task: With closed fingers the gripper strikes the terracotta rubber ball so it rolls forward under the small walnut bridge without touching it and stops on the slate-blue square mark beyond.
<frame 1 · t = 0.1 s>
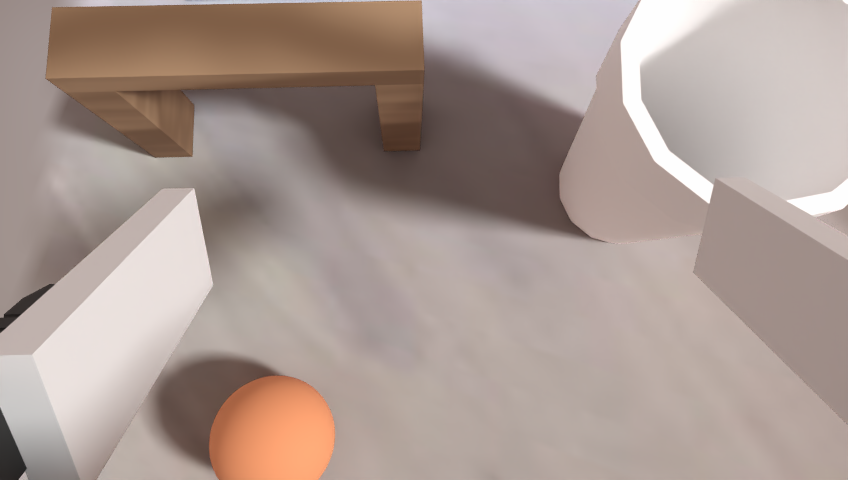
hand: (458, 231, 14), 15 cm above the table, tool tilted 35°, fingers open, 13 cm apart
foam cup: (613, 188, 31), on the table
bridge: (288, 128, 30), on the table
ball: (273, 437, 25), on the table
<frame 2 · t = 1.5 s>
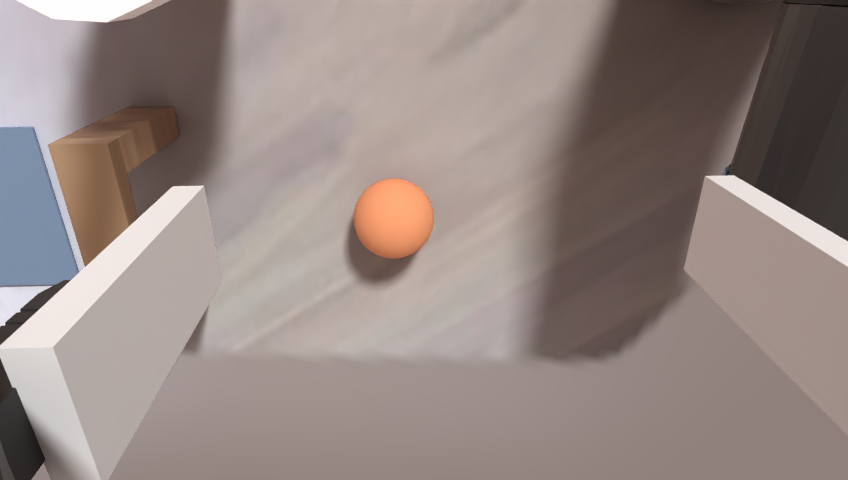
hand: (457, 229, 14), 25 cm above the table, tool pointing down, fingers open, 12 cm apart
bridge: (172, 207, 40), on the table
ball: (393, 218, 38), on the table
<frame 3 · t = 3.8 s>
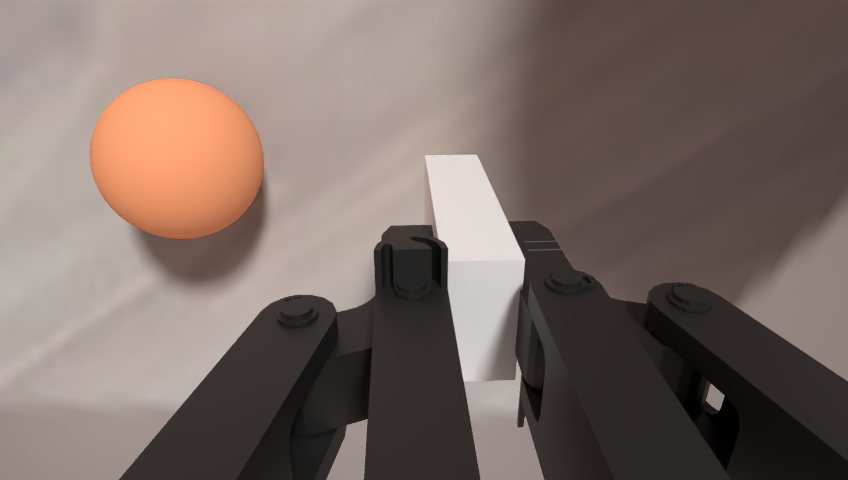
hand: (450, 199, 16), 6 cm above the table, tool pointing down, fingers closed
ball: (181, 160, 19), on the table
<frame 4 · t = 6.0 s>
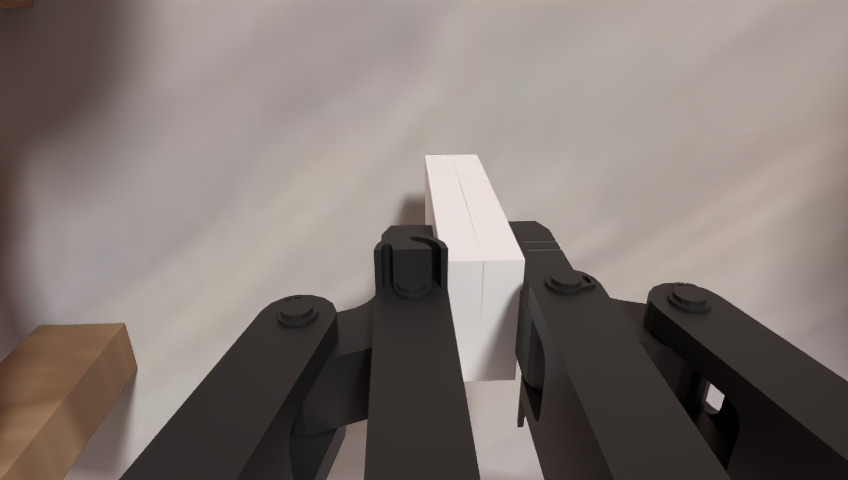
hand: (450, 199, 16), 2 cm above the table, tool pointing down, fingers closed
bridge: (36, 186, 17), on the table
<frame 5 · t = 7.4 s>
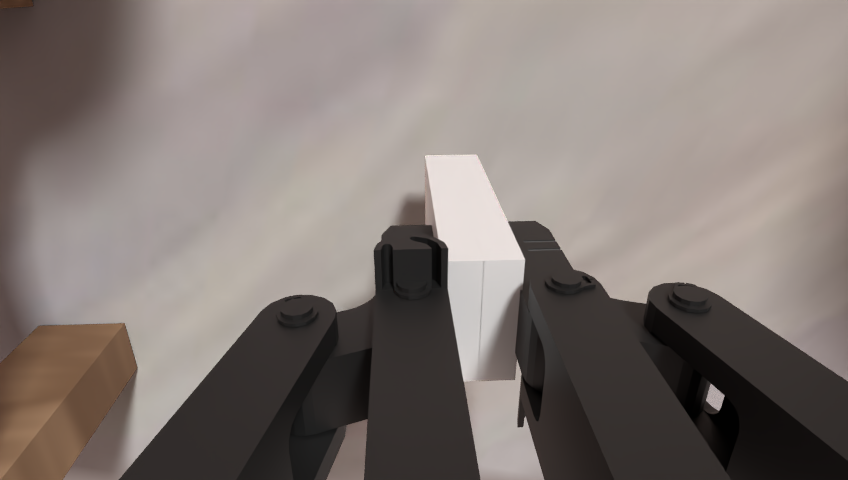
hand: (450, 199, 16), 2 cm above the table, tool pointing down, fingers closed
bridge: (36, 186, 17), on the table
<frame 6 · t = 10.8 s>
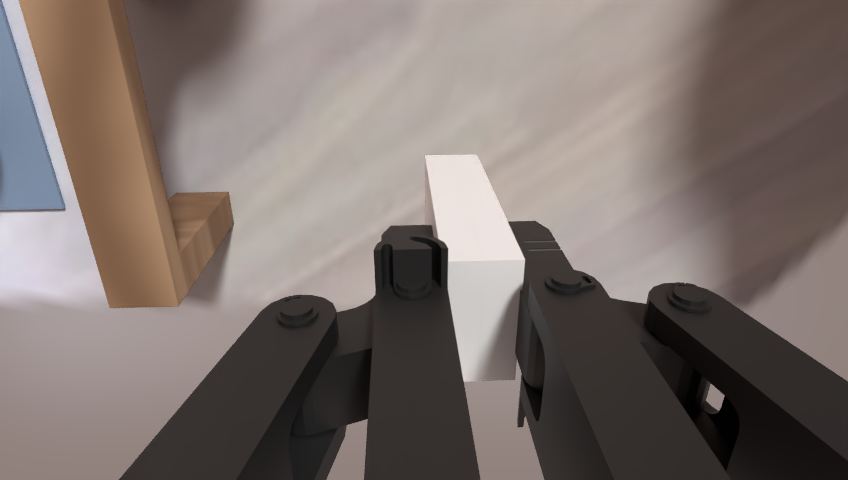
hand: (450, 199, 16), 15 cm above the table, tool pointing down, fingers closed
bridge: (185, 101, 30), on the table
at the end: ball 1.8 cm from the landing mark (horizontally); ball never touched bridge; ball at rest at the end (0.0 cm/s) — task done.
